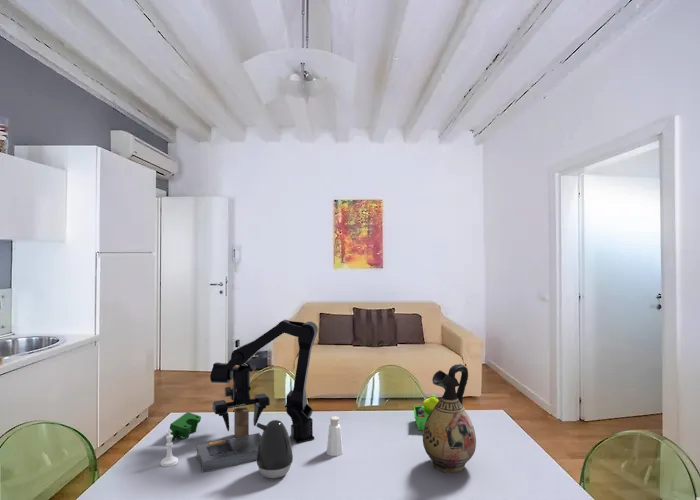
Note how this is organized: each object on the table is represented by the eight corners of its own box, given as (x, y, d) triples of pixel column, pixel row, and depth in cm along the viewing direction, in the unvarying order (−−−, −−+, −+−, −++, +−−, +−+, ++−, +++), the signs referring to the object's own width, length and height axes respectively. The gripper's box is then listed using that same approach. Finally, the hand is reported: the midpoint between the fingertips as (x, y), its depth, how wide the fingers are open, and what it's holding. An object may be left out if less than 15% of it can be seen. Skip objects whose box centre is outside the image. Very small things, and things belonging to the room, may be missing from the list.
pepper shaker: (346, 450, 135) (345, 416, 135) (338, 457, 130) (338, 422, 130) (331, 447, 137) (331, 413, 137) (323, 454, 132) (323, 419, 133)
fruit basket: (413, 419, 161) (413, 389, 161) (437, 420, 160) (437, 390, 160) (414, 431, 150) (414, 399, 150) (439, 432, 148) (439, 400, 149)
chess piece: (181, 460, 129) (181, 427, 129) (169, 467, 124) (170, 433, 124) (168, 457, 130) (168, 425, 131) (156, 465, 126) (156, 431, 126)
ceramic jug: (446, 484, 114) (445, 374, 115) (412, 460, 128) (412, 362, 129) (492, 470, 122) (491, 366, 123) (455, 448, 136) (455, 355, 136)
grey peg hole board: (259, 441, 141) (259, 432, 141) (270, 456, 131) (270, 446, 131) (196, 455, 132) (196, 444, 132) (202, 472, 121) (202, 460, 121)
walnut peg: (245, 432, 149) (245, 406, 149) (248, 436, 146) (248, 410, 146) (234, 434, 147) (234, 408, 148) (237, 438, 144) (237, 412, 144)
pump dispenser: (260, 464, 126) (260, 413, 126) (295, 465, 126) (295, 414, 126) (251, 483, 116) (251, 427, 116) (289, 483, 115) (289, 427, 116)
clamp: (183, 452, 144) (183, 433, 140) (167, 447, 144) (167, 427, 141) (202, 426, 154) (202, 407, 151) (187, 421, 155) (187, 402, 152)
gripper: (261, 374, 158) (261, 415, 158) (209, 381, 150) (209, 425, 149) (270, 381, 149) (270, 426, 148) (215, 389, 140) (215, 436, 139)
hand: (241, 428), depth 147 cm, fingers open, 9 cm apart
